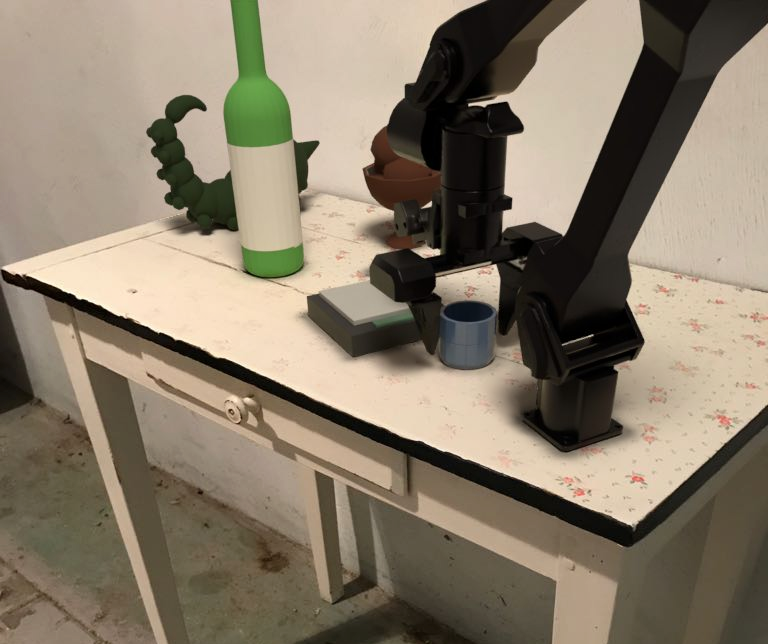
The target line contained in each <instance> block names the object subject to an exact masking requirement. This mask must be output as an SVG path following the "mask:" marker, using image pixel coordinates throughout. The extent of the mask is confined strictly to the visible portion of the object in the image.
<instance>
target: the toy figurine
mask: <svg viewBox="0 0 768 644" xmlns="http://www.w3.org/2000/svg"><path fill="white" fill-rule="evenodd" d="M193 110H199V111H202V112H205V113H206V112H207V110H208V108H207V105H206V104H205V102H203V101H202V100H201V99H200V98H198V97H196V96H194V95H192V94H181V95H178V96H175V97H173V98H172V99H171V100H169V101H168V102H167V104H166V105H165V109H164V116H165V118H161V117H160V118H157V119H156V120H154V121H153V122H152V123H151V124H150V126H149V127H147V128H146V130H145V131H146V132H145V133H146V135H147V137H148V138H149V139H151V140H152V142H153V143H154V144H155V145H153V147H152V148H150V154H151V155H152V157H153V158H155V159H157V160H158V162H159V163H160V164H161V165H162V166H161V167H160V168H159V169H157V171H156V178H157V179H159V180H160V181H165V182H166V184H167V185H169V187H170V188H169V189H170V190H169V191H168V192H167V193H165V194H164V197H163V199H164V202H165V204H166V205H169V206H170V207H172V208H174V209H175V210H177V211H181V210H183V209H185V208H187V210H186V212H185V213H186V215H185V217H186V218H187V221H189V222H190V223H196V224H197V225H198V226H199V227H200V228H201V229H204V230H209V228H211V227H212V225H213V222H215V223H217V224H221V225H226V227H227V228H228V229H229V230H232V231H236V230H239V228H238V221H237V214H236V206H235V199H234V191H233V184H232V177H231V169H229V171H228V172H226V174H225V176H224V178H223V177H221V178H217V179H214V180H212V181H211V182H205V181H204V182H203V180H202V179H201V177H199V176H198V174H196V173H195V169H194V166H193V164H192V162H191V161H190V160H189V159H188V158H187V157H186V148H185V145H184V143H183V142H182V140H181V139H179V138H178V130H177V127H176V124H179V123H180V122H181V121H182V120H184V119H185V117H186V115H187V114H188V113H189V112H190V111H193ZM293 142H294V153H295V164H296V174H297V185H298V196H299V206H301V205H302V199H301V197H300V194H301V193H302V192H303V191H306V190H307V189H308V187H309V183H308V178H309V159H310V158H311V157H312V155H313V154H314V153H315V151H316V150H317V149H318V147H319V146H320V140H316V139H315V140H308V141H300V142H297V141H296V140H295V139H294V138H293Z"/></svg>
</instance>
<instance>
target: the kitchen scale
mask: <svg viewBox="0 0 768 644" xmlns="http://www.w3.org/2000/svg"><path fill="white" fill-rule="evenodd" d="M306 305H307V315H308V317H309V318H310V319H311V320H312V321H313V322H314V323H315V324H317V325H318V326H319V327H320V328H321V329H322V330H323V331H324V332H325V333H326V334H327V335H328V336H330V338H332V339H333V340H334V341H335V342H336V343H337V344H338V345H339V346H340V347H342V349H344V350H345V351H346V353H348V354H349V356H351V357H352V358H355V357H359V356H363V355H367V354H370V353H374V352H378V351H383V350H387V349H390V348H395V347H398V346H402V345H406V344H410V343H414V342H418V341H423V340H422V338H421V335H420V332H419V330H418V327H417V325H416V322H415V319H414V317H413V314H412V312H411V310H410V309H409V307H408V305H407V304H406V303H400V302H394V301H393V300H392V299H390V298H389V297H388V296H386V295H385V294H384V293H382V292H381V291H379V290H378V289H377V288H375V287H374V286H373V285H371V284H370V279H367V280H364V281H363V280H362V281H359V282H354V283H350V284H345V285H341V286H336V287H332V288H326V289H323V290H319V291H318V293H314V294H311V295H306ZM445 305H446V304H444V303H441V308H442V307H443V306H445ZM438 337H439V335H438Z"/></svg>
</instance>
